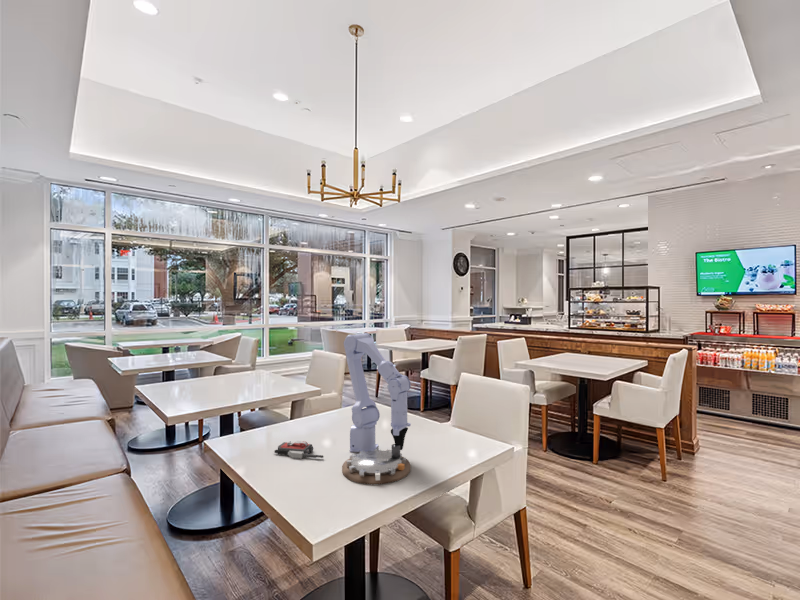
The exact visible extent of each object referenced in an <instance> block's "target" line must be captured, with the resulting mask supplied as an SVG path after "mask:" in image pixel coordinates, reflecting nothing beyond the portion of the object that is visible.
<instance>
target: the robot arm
mask: <svg viewBox="0 0 800 600" xmlns="http://www.w3.org/2000/svg"><path fill="white" fill-rule="evenodd" d="M343 347H344V352H345V358H346V359H345V360H346V363H347V367H348V372H349V375H350V376H349V377H350V381H351V385H352V390H353V395H354V398H355V403H353V405H352V407H351V421H352V423H353V424H352V425H351V427H350V431H349V452H351V453H352V452H353V453H360V451H363V450H364V451H365V452H367V451H373V449H378V447H379V444H378V443H376V425H377V422H378V421H379V420H380V416H381V414H380V410H379V409H378V407H377V404H376V402H375V401H374V400H373V399H371V398H370V394H369V390H368V385H367V380H366V375H365V372H364V368H363V363H362V357H363V356H364V355H365V354H366V355H367V356H368V357H369V358H370V359H371V360H372V362H373V363H375V365H376V366H377V372H378V373H379V375H380V376H381V377H382V378H383V380H384V381H385V382H386V383H387V390H388V392H389V397H390V400H391V401H390V410H391V412H390V413H391V414H390V415H391V416H390V417H391V418H390V419H391V420H390V421H391V422H390V427H391V429H390V433H391V436H392V437H393V441H394V444H400V451H403V448H404V445H405V444H404V443H405V439H406V435H407V432H408V430H409V427H411V424H412V423H411V422H408V392H409V391H410V389H411V384H412V383H411V381H410V378H409V376H407V375H405V374H404V375H403V374H402V373H401V372H400V371H399V370H398V369H397V368H396V367H395V365H394V363H393V362H392V361H390V360H386V359H385V358H384V356H383V355H382V353H381V352H380V351H379V349H378V347H377V346H376V345H375V340H374V338H373V336H372V335H371V334H369V333H368V332H364V333H357V334H356V333H355V334H354V333H353V334H352V333H351V334H347V335H346V336H345V339H344V341H343Z"/></svg>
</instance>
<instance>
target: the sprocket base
mask: <svg viewBox="0 0 800 600" xmlns="http://www.w3.org/2000/svg"><path fill="white" fill-rule="evenodd" d="M402 458H405V457H404V456H402ZM347 460H350V457H349V458H348V459H346V460H345V461H344V462H343V463H342V465H341V472H342V475H343V476H344V477H345V478H346V479H347V480H349V481H351V482H353V483H356V484H363V485H371V484H372V486H375V485H374V484H378V485H385V484H386V485H387V484H391V483H395V481H396V482H398V481H400V480H402V479H405V478H406V477H407V476H409V474H410V473H411V471H412V470H411V469H412V468H411V462H410V461H409V459H407V458H406V464H405V469H404V470H397V471H395V475H390V474H385V475H380V473H375V475H365V476H364V477H362V476H359V473H358V472H352V473H351V472H350V471H349V467H347Z"/></svg>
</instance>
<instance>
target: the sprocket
mask: <svg viewBox="0 0 800 600" xmlns="http://www.w3.org/2000/svg"><path fill="white" fill-rule="evenodd" d="M402 457H403V454H402V453H401V450H400V444H395V443H393V444H391V449H388V448H387V449H386V450H379V449H378V448H376V449H373V451H367V452H365V451H364V450H363V451H360V452H359V453H357V454H351V455H349V458H350V460H348V459H346V460H347V467H349V471H350V472H351V473H352V472H358V473H359V476H362V477H364V476H365V475H375V473H380V475H385V474H390V475H395V471H397V470H404V469H405V464H406V459H407V458H406V457H404V458H402Z"/></svg>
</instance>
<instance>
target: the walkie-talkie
mask: <svg viewBox="0 0 800 600" xmlns="http://www.w3.org/2000/svg"><path fill="white" fill-rule="evenodd" d="M313 451H314V446H313V444H311V443H309V442H307V441H305V440H303V441H302V440H296V441H295V442H292V441H288V442H287V441H285V442H282V443H281V444H280V445H278V446H277V449H275V450H274V454H277V455H279V454H285V455H284V456H289V457H290V458H291V457H292V458H291V459H299V458H300V460H302V459H304V458H310V459H311V458H312V459H316V458H321V459H322V458H323V459H324V457H325V456H324V455H321V454H310V453H313ZM308 453H309V454H308Z"/></svg>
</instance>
